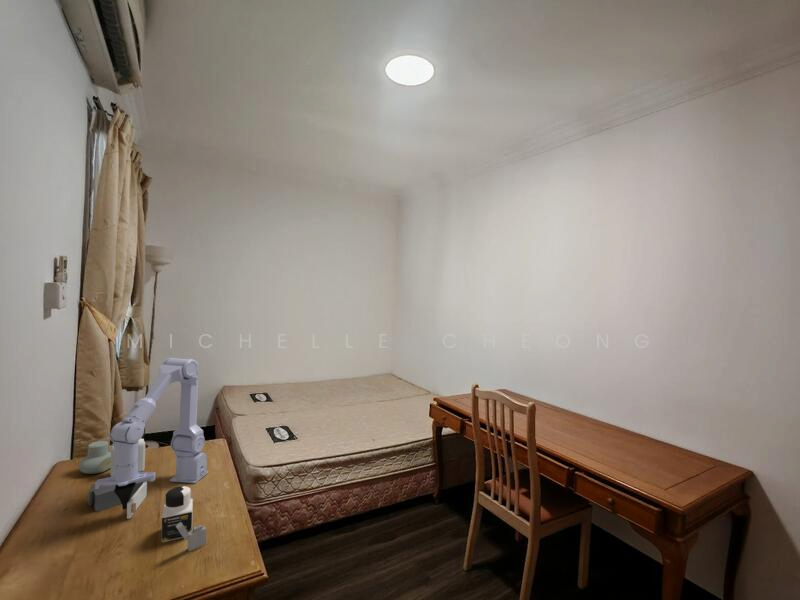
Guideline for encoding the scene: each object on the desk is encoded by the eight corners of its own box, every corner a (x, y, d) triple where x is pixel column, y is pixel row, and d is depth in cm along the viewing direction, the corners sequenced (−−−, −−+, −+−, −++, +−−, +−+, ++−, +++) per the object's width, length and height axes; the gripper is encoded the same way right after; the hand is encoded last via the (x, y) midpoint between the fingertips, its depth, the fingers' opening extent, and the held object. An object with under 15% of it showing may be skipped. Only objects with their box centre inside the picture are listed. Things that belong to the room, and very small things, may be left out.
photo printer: (145, 467, 143) (145, 434, 143) (144, 471, 139) (145, 438, 139) (110, 473, 137) (111, 439, 137) (109, 478, 134) (110, 444, 133)
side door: (144, 495, 123) (144, 481, 123) (150, 494, 124) (150, 480, 124) (126, 518, 111) (126, 503, 111) (133, 518, 111) (134, 502, 111)
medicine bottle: (161, 543, 101) (162, 499, 101) (163, 528, 107) (164, 486, 107) (191, 536, 104) (192, 493, 104) (192, 521, 111) (193, 481, 110)
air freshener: (102, 462, 146) (102, 436, 145) (120, 465, 144) (121, 439, 144) (73, 476, 135) (73, 448, 135) (92, 478, 133) (92, 450, 133)
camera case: (135, 486, 129) (135, 470, 129) (142, 496, 123) (143, 479, 123) (86, 501, 119) (86, 483, 119) (91, 513, 113) (92, 494, 113)
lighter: (203, 541, 102) (204, 512, 102) (206, 544, 101) (207, 514, 101) (174, 554, 97) (175, 523, 97) (177, 557, 96) (177, 526, 96)
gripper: (91, 472, 106) (90, 520, 106) (151, 464, 111) (151, 510, 112) (100, 461, 112) (99, 506, 113) (157, 455, 118) (156, 498, 118)
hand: (125, 507), depth 113 cm, fingers closed
